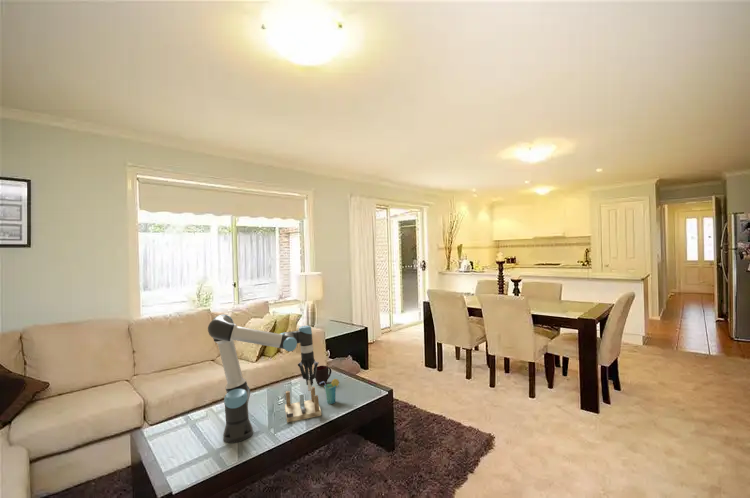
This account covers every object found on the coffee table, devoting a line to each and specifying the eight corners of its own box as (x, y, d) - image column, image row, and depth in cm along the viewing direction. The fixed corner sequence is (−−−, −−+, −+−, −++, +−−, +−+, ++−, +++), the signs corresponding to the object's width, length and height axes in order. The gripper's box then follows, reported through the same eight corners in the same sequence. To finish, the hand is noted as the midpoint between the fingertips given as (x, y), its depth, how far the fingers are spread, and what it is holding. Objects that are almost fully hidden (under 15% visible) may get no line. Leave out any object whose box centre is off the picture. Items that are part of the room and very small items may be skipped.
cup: (323, 408, 223) (322, 383, 223) (317, 404, 229) (315, 380, 229) (342, 401, 232) (340, 377, 232) (336, 397, 238) (334, 375, 238)
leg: (305, 412, 211) (305, 399, 211) (301, 413, 211) (300, 399, 211) (304, 405, 221) (303, 392, 221) (300, 406, 220) (299, 393, 220)
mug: (312, 384, 265) (311, 368, 265) (327, 379, 275) (326, 363, 275) (320, 387, 258) (319, 370, 258) (335, 381, 268) (334, 365, 268)
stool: (286, 422, 207) (285, 403, 207) (285, 408, 226) (283, 391, 226) (321, 415, 213) (320, 396, 213) (316, 402, 232) (315, 385, 232)
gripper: (294, 353, 217) (297, 392, 217) (315, 353, 215) (318, 392, 215) (299, 350, 225) (302, 387, 224) (319, 349, 222) (322, 387, 222)
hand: (310, 390), depth 220 cm, fingers closed
